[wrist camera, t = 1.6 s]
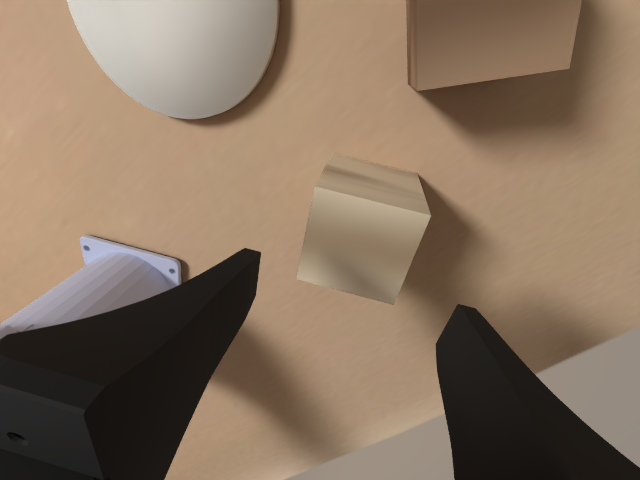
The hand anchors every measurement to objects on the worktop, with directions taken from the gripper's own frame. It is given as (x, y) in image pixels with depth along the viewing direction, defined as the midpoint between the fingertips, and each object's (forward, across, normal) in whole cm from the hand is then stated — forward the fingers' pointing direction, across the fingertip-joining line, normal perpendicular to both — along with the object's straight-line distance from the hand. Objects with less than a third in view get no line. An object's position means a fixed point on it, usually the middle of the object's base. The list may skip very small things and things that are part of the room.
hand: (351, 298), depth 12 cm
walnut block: (+10, -2, -10) cm, 14 cm away
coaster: (+9, +12, -8) cm, 17 cm away
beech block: (+10, 0, 0) cm, 10 cm away
